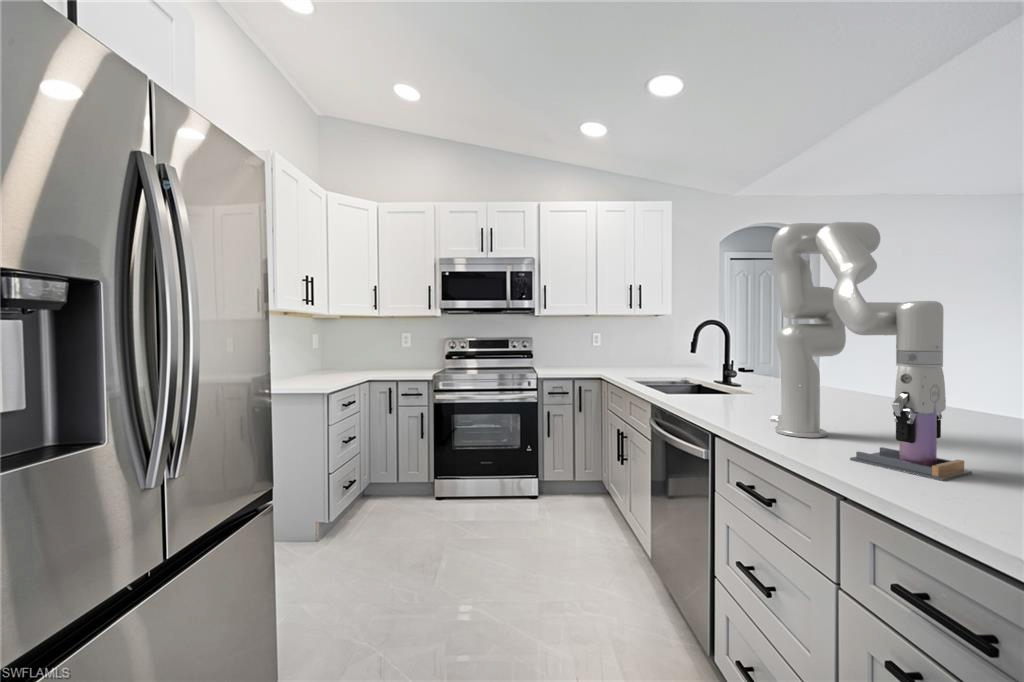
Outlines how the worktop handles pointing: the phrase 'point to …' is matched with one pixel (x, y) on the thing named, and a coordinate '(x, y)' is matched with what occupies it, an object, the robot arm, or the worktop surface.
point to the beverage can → (922, 441)
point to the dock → (913, 464)
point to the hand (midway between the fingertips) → (918, 439)
